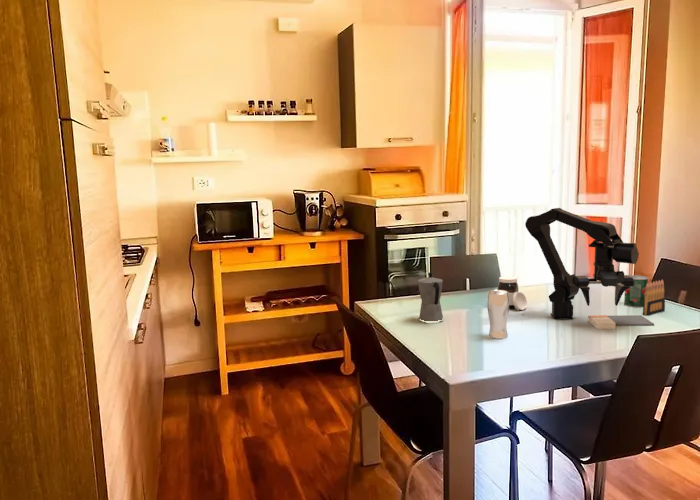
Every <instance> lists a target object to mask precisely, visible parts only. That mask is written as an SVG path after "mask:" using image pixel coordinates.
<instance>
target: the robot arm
mask: <svg viewBox="0 0 700 500" xmlns="http://www.w3.org/2000/svg"><path fill="white" fill-rule="evenodd" d="M554 222H559V223H562V224H565V225H566V226H570V227H573V228H574V229H577V230H580V231H582V232H584V233H585V234H586V235H588V237H590V238H591V239H593V240H592V242H591V243H589V244H588V247H589V248H594V262H593V266H594V267H593V268H594V272H593V274H592V277H593V278H592V277H588V276H586V275H575V273H573V274H570V273H569V272H568V271H567V270H566V268H565V266H564V263H563V261H562V258H561V257H560V254H559V252H558V250H557V248H556V246H555V244H554V241H553V239H552V237H551V226H550V225H551V224H553V223H554ZM524 226H525V228H526V229H527V231H528V233H529V234H530V236H532V237H533V238H534V239H535V240H536V241H537V242H538V245H539V247H540V249H541V252H542V254H543V256H544V258H545V261H546V263H547V265H548V267H549V270H550V272H551V273H552V276H553V288H554V290H553V292H552V293H550V294H549V295H548V299H549V302H551V313H550V316H551V317H552V318H553V319H554V320H573V319H574V317H573V316H574V305H573V301H572V300H574V299H575V297H576V296H577V295H578V294H579V291H580V290H581V292H582V294H583V298H584V301H585V302H586V306H588V307H589V306H590V290H591V287H589V286H590V285H592V284H593V285H594V284H596V285H597V284H599V285H600V284H601V285H602V287H614V306H615V307H617V306H618V305H619V303H620V300H621V298H622V295H623V294H625V290H626V289H629V288H630V287H629V286H634V283H635V281H634V279H633V278H632V277H630V276H629V274H625V272H624V271H623V270H618V271H616V270H615V265H614V261H615V262H616V263H621V264H622V263H623V264H629V265H630V264H631V265H635V264H637V263H638V259H639V254H640V253H639V250H638V247H637V242H624V241H623V240H622V238H621V237H620V235H619V234H618V232H617V229H616V226H615V225H614V224H612V223H609V222H604V221H595V220H591V219H588V218H586V217H583V216H581V215H577V214H575V213H573V212H569V211H567V210H565V209H562V208H561V207H555V208H551V209H550V210H547V211H546V212H543V213H541V214H537V215H533V216H528V217H527V219H526V221H525V225H524Z"/></svg>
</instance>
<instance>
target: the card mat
mask: <svg viewBox="0 0 700 500" xmlns="http://www.w3.org/2000/svg"><path fill="white" fill-rule="evenodd" d="M607 316H608V318H610V319H611V320H613V321H614V322H615V326H617V327H621V326H622V327H629V326H631V327H632V326H636V327H637V326H638V327H640V326H643V327H644V326H651V327H652V326H655V323H653V322H652V321H651V320H649V319H647V318H646V317H644V315H643V314H642V315H640V314H639V315H637V314H636V315H630V314H629V315H623V314H622V315H607Z"/></svg>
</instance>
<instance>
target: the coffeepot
mask: <svg viewBox="0 0 700 500" xmlns="http://www.w3.org/2000/svg"><path fill="white" fill-rule="evenodd" d="M427 274H428V277H423V278H419V279H418V281H417V283H418V290H419V295H420V299H421V304H420V309H419V311H420V312H419V318H418V320H419V319H421V320H424V321H438V320H442V318H443V319H444V317H443V316H444V315H443V311H442V310H443V309H442V303H441V301H440V300H441V296H442V288H443V279H442V278H441V279H440V278H436V277H433V272H428V273H427Z"/></svg>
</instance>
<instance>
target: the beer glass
mask: <svg viewBox="0 0 700 500" xmlns="http://www.w3.org/2000/svg"><path fill="white" fill-rule="evenodd" d="M486 301H487V302H486V305H487V308H486V309H487V315H488V320H489V331H488V337H489V336H490V337H489V338H491V337H492V338H491V339H494V338H496V339H495V340H504V339H503V338H505V339H507V338H508V335H509V334H508V327H507V325H508V324H507V323H508V317H509V311H510V309H509V292H508V291H505V290H498V289H491V290H488V291H487V300H486Z"/></svg>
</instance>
